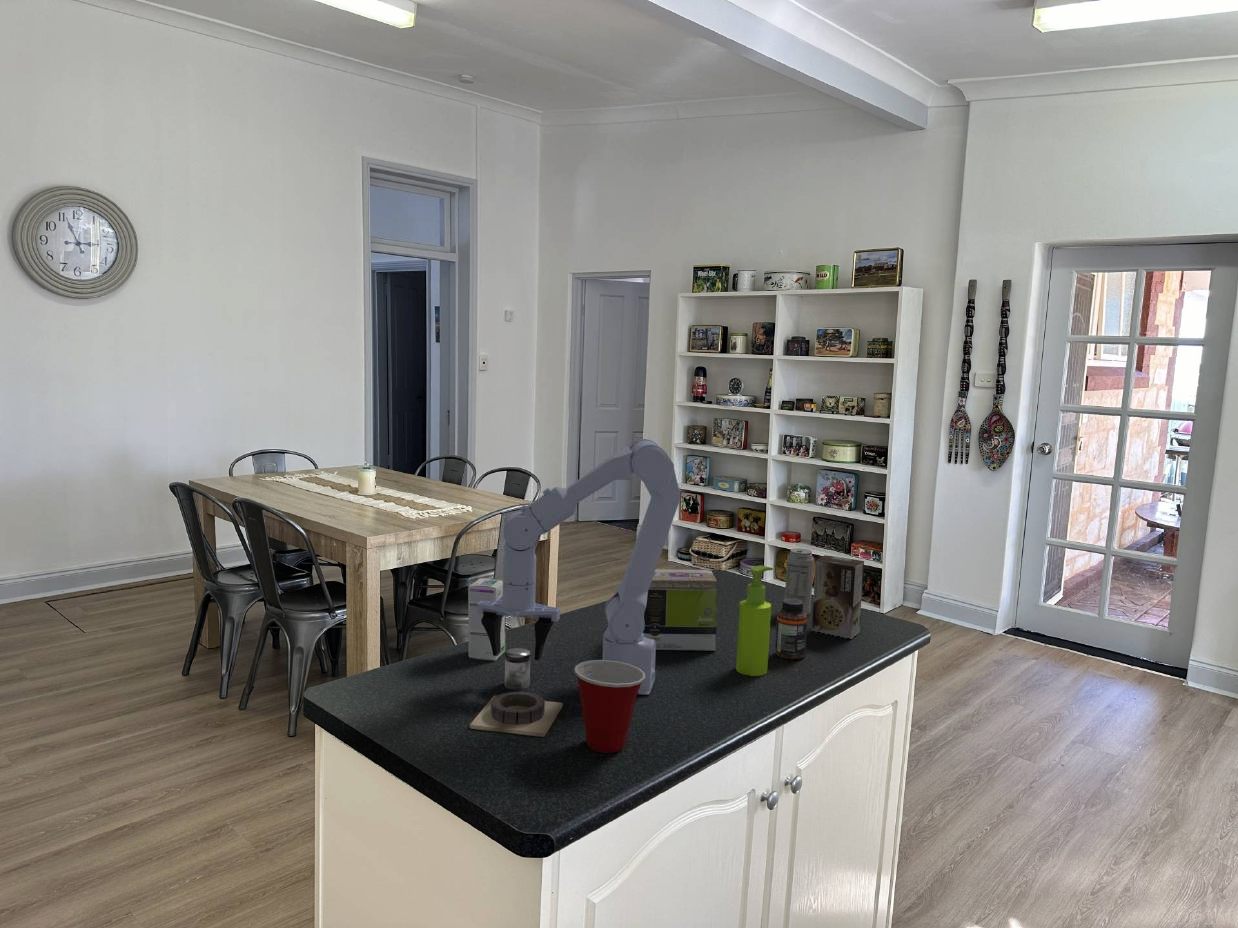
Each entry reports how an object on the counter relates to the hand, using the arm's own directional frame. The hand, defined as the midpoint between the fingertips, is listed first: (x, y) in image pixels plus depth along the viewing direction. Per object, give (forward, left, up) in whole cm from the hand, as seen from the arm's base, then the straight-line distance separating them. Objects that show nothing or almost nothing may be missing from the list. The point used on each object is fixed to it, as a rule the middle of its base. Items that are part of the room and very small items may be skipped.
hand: (517, 656), depth 156 cm
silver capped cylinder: (0, 0, -5) cm, 5 cm away
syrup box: (+10, -13, -6) cm, 17 cm away
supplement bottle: (-48, -29, -6) cm, 56 cm away
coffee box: (-58, -47, -6) cm, 75 cm away
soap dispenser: (-41, -19, -6) cm, 46 cm away
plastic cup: (-20, +19, -6) cm, 28 cm away
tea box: (-25, -30, -6) cm, 39 cm away
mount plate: (-4, +13, -5) cm, 15 cm away
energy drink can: (-50, -58, -6) cm, 77 cm away
